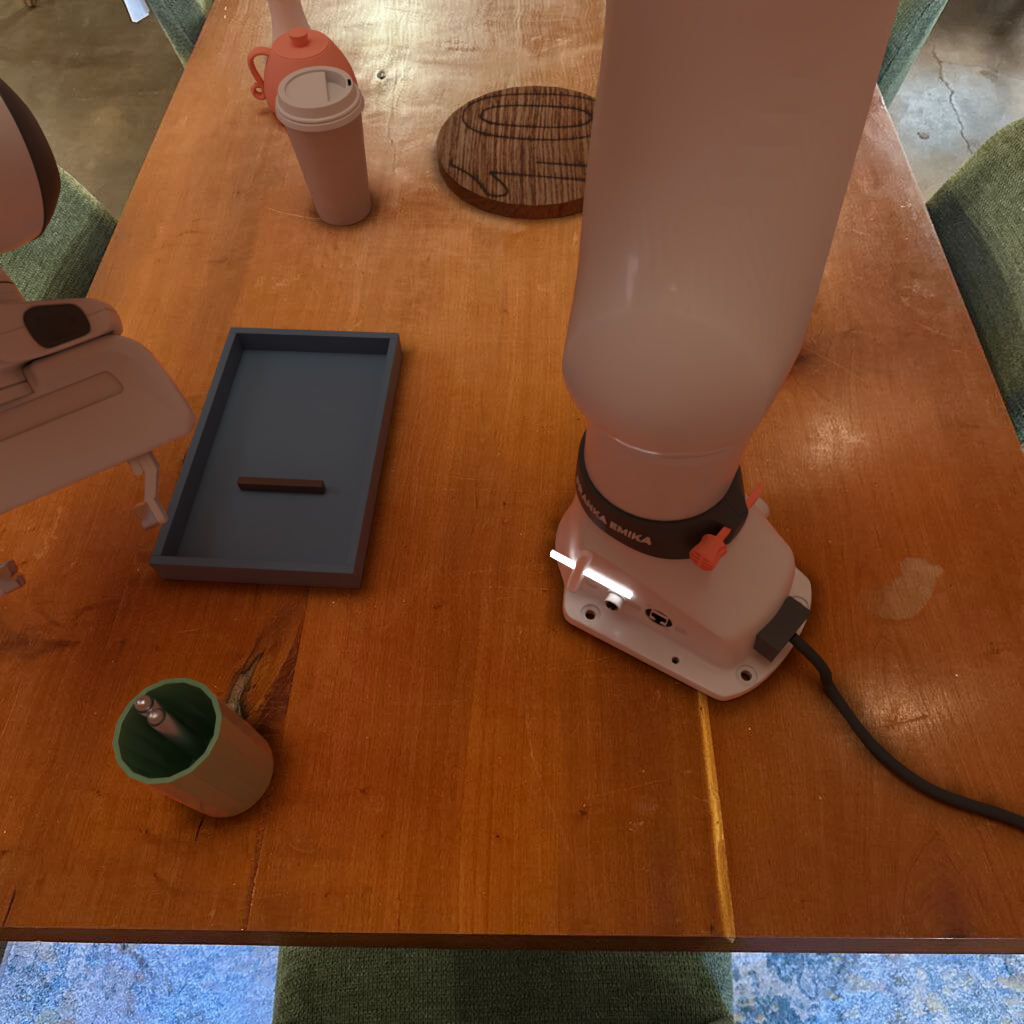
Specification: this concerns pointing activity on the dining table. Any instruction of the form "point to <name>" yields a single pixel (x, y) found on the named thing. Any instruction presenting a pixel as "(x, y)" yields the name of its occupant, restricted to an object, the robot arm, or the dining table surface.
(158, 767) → the green cup
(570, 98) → the trivet
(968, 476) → the dining table surface
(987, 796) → the dining table surface
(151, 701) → the tong
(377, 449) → the tray
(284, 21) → the vase
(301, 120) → the coffee cup
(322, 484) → the bar
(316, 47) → the sugar bowl
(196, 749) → the ball-tipped brown rod
